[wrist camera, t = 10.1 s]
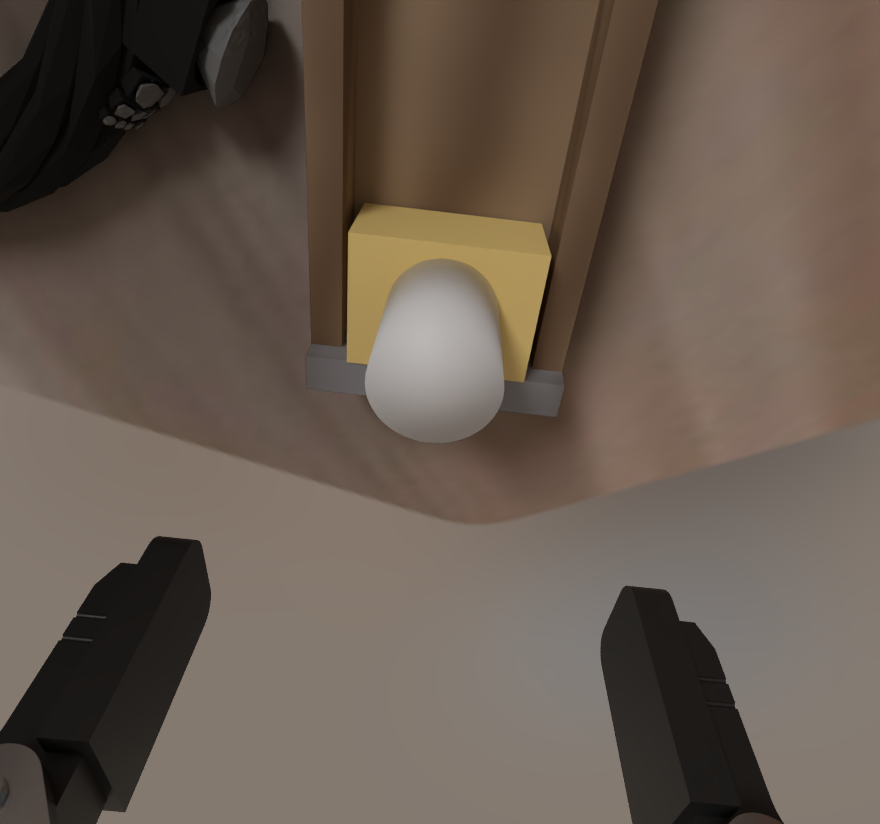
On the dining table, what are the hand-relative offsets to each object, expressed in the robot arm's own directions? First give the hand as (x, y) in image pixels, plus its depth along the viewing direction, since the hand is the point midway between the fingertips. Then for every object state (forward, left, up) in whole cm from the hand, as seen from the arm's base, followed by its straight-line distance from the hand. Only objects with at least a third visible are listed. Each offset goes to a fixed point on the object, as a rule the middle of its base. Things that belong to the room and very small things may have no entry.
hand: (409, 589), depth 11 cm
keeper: (0, 0, -15) cm, 15 cm away
